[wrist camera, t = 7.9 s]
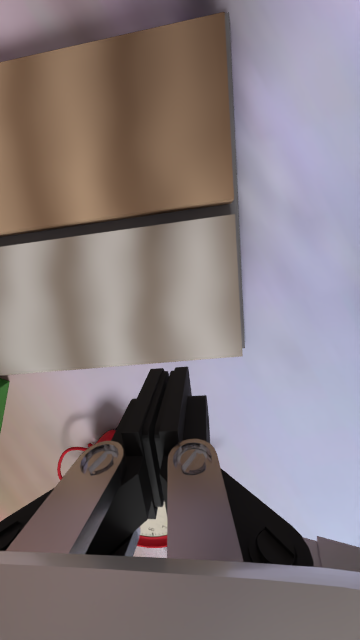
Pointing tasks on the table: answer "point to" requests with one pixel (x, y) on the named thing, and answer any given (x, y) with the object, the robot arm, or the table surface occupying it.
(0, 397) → the hardback book
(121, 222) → the brown flat board
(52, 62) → the walnut plank
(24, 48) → the table surface
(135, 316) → the grey oak plank
